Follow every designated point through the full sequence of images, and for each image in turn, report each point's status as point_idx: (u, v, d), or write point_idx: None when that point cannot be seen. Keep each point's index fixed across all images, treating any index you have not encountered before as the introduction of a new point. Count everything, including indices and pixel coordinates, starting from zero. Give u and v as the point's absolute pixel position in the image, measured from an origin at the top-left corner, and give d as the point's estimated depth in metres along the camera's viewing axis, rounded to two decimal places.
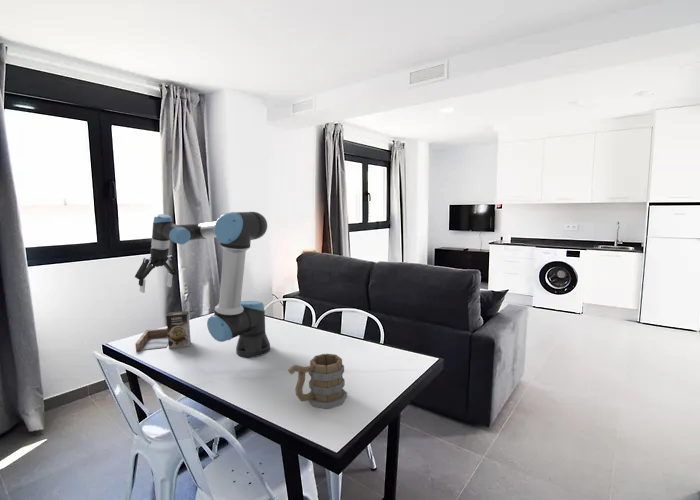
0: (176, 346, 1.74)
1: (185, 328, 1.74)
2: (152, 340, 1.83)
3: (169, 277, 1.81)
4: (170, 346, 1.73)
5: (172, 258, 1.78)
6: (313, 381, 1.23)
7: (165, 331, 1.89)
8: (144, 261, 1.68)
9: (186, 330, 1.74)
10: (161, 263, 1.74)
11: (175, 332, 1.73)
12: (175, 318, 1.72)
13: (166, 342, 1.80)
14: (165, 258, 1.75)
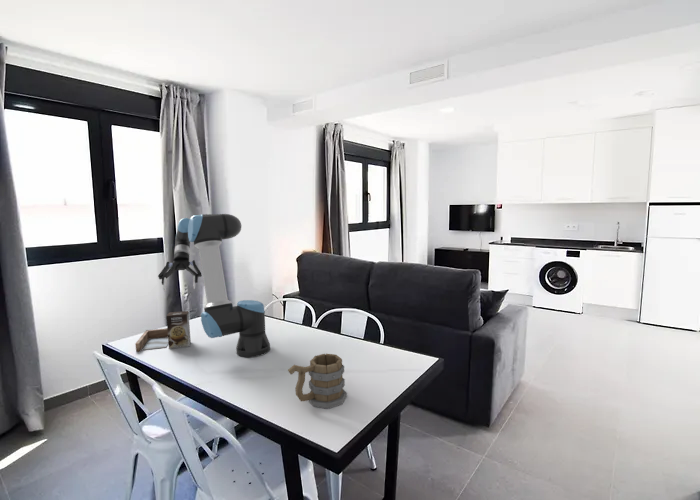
0: (176, 346, 1.74)
1: (185, 328, 1.74)
2: (152, 340, 1.83)
3: None
4: (170, 346, 1.73)
5: (193, 262, 1.94)
6: (313, 381, 1.23)
7: (165, 331, 1.89)
8: None
9: (186, 330, 1.74)
10: (182, 265, 1.91)
11: (175, 332, 1.73)
12: (175, 318, 1.72)
13: (166, 342, 1.80)
14: (186, 261, 1.93)
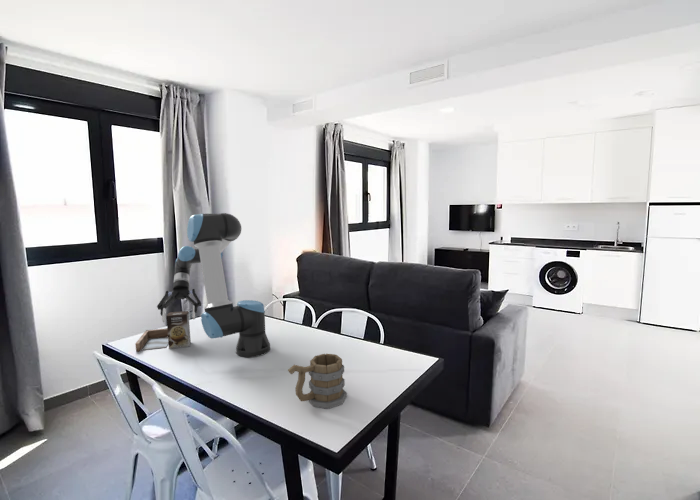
0: (176, 346, 1.74)
1: (185, 328, 1.74)
2: (152, 340, 1.83)
3: (193, 309, 1.84)
4: (170, 346, 1.73)
5: (193, 290, 1.89)
6: (313, 381, 1.23)
7: (165, 331, 1.89)
8: None
9: (186, 330, 1.74)
10: (181, 294, 1.87)
11: (175, 332, 1.73)
12: (175, 318, 1.72)
13: (166, 342, 1.80)
14: (185, 290, 1.89)
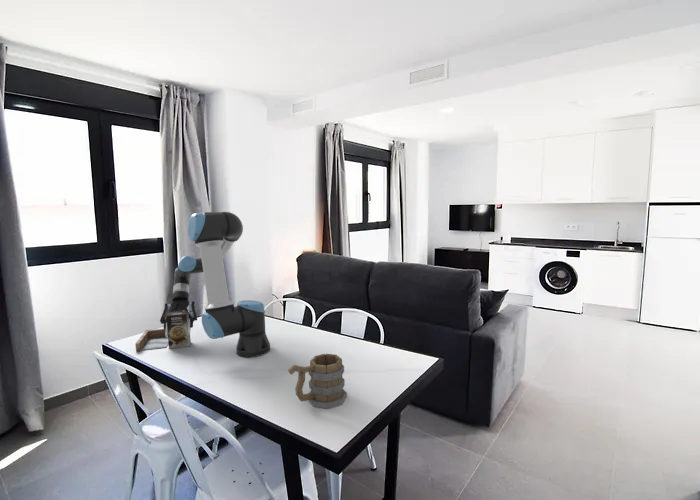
0: (176, 346, 1.74)
1: (185, 328, 1.74)
2: (152, 340, 1.83)
3: None
4: (170, 346, 1.73)
5: (192, 303, 1.83)
6: (313, 381, 1.23)
7: (165, 331, 1.89)
8: (165, 307, 1.81)
9: (186, 330, 1.74)
10: (181, 306, 1.81)
11: (174, 332, 1.73)
12: (175, 318, 1.72)
13: (166, 342, 1.80)
14: (185, 301, 1.83)
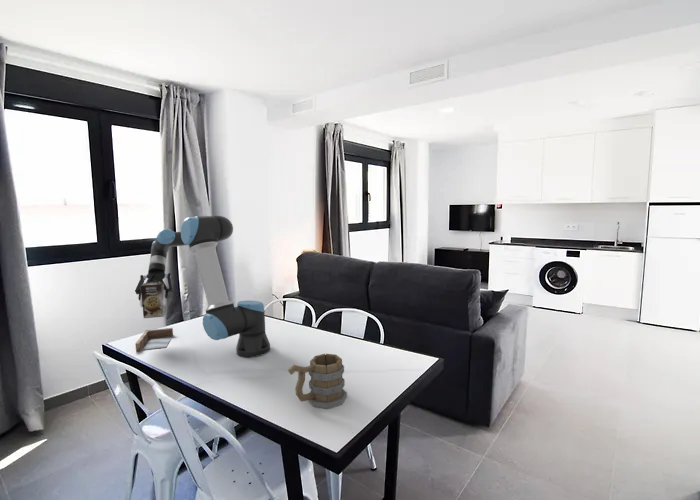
0: (151, 316, 1.75)
1: (160, 299, 1.75)
2: (152, 340, 1.83)
3: None
4: (145, 316, 1.74)
5: (168, 275, 1.84)
6: (313, 381, 1.23)
7: (165, 331, 1.89)
8: None
9: (161, 300, 1.75)
10: (156, 277, 1.82)
11: (149, 302, 1.74)
12: (149, 288, 1.73)
13: (166, 342, 1.80)
14: (161, 273, 1.84)
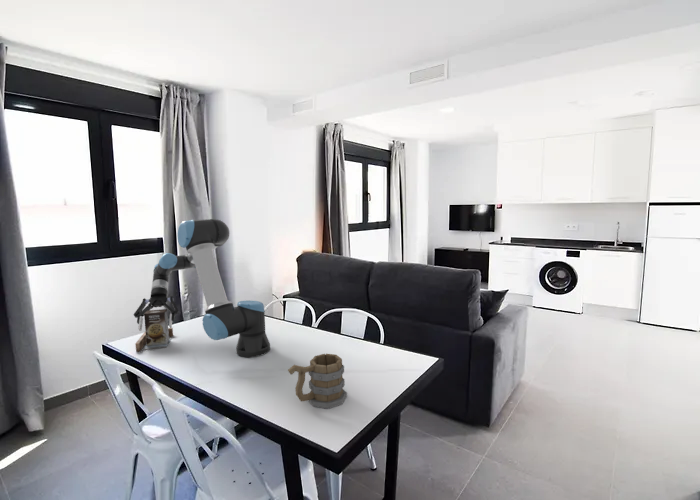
0: (154, 343, 1.77)
1: (163, 326, 1.77)
2: None
3: (170, 317, 1.81)
4: (148, 343, 1.76)
5: (171, 298, 1.86)
6: (313, 381, 1.23)
7: None
8: None
9: (164, 328, 1.77)
10: (159, 302, 1.84)
11: (152, 330, 1.76)
12: (152, 316, 1.75)
13: None
14: (163, 298, 1.86)
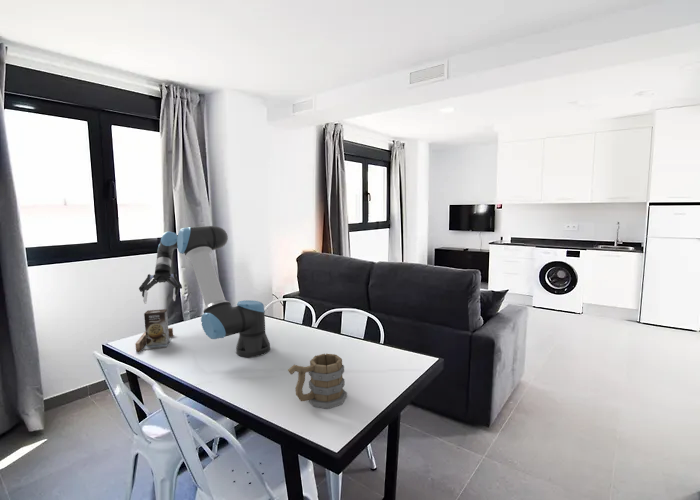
0: (154, 343, 1.77)
1: (163, 326, 1.77)
2: None
3: None
4: (148, 343, 1.76)
5: (174, 274, 1.97)
6: (313, 381, 1.23)
7: None
8: None
9: (164, 328, 1.77)
10: (163, 278, 1.95)
11: (152, 330, 1.76)
12: (152, 316, 1.75)
13: None
14: (167, 274, 1.97)
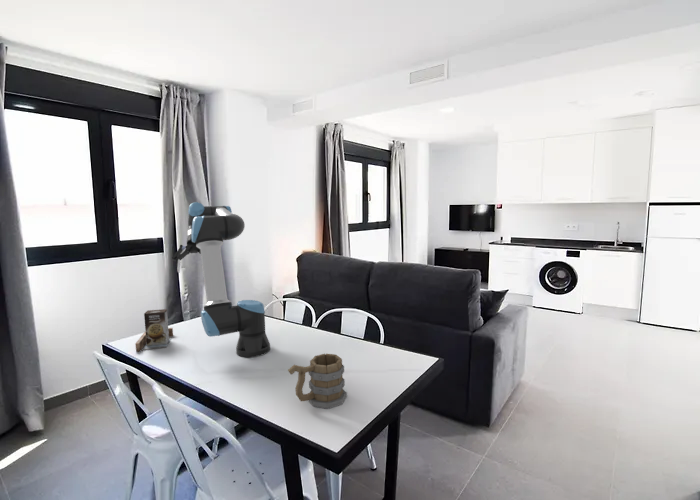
0: (154, 343, 1.77)
1: (163, 326, 1.77)
2: None
3: None
4: (148, 343, 1.76)
5: None
6: (313, 381, 1.23)
7: None
8: None
9: (164, 328, 1.77)
10: (195, 248, 1.97)
11: (152, 330, 1.76)
12: (152, 316, 1.75)
13: None
14: None
